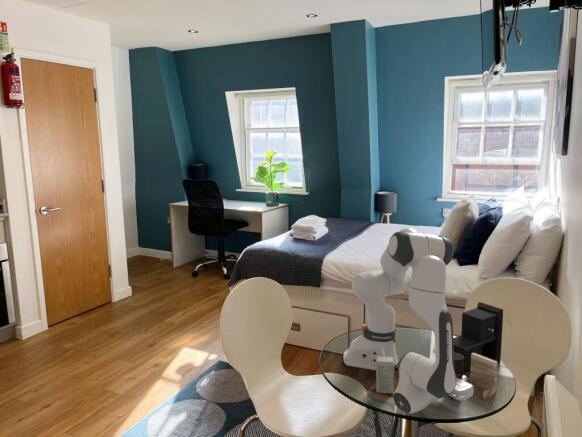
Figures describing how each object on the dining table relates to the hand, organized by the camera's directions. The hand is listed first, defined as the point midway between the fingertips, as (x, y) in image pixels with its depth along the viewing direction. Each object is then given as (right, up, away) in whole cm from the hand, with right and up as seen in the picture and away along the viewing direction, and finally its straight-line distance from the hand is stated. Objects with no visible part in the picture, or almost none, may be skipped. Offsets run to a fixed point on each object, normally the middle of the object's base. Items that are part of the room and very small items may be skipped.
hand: (455, 373), depth 156 cm
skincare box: (-24, -8, +5) cm, 26 cm away
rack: (+9, -7, +3) cm, 12 cm away
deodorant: (-1, -8, +1) cm, 8 cm away
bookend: (+14, -5, +21) cm, 26 cm away
